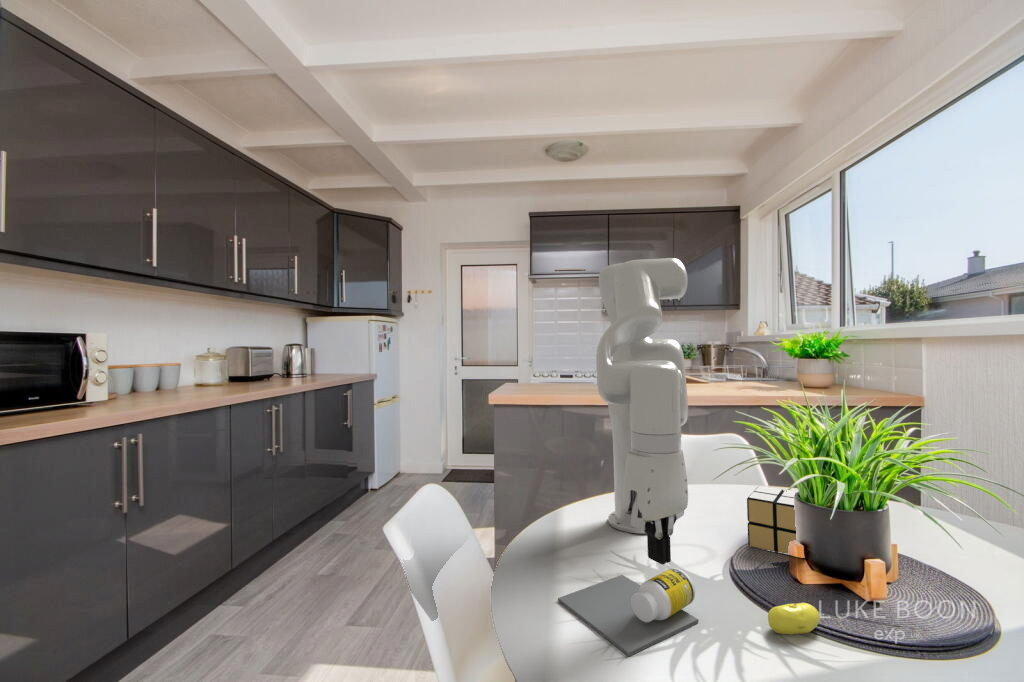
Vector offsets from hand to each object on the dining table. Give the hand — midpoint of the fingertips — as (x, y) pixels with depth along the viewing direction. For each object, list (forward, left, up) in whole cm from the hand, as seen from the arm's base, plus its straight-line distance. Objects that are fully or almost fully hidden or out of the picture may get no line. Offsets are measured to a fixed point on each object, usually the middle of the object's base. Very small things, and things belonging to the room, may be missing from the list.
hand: (659, 559), depth 73 cm
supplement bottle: (-4, +1, -4) cm, 6 cm away
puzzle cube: (-38, -3, -8) cm, 39 cm away
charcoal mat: (+5, -3, -8) cm, 10 cm away
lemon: (-12, +14, -8) cm, 20 cm away
